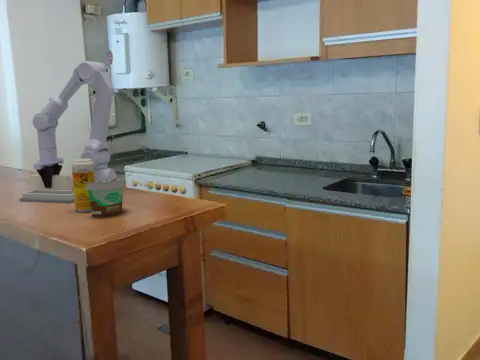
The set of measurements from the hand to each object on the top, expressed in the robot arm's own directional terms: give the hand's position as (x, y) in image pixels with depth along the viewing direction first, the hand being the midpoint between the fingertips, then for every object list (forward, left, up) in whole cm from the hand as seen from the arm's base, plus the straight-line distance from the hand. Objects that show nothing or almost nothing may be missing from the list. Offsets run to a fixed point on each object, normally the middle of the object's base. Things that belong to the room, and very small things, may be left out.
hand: (51, 186), depth 172 cm
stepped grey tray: (-7, +10, -2) cm, 12 cm away
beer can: (-26, +22, -2) cm, 34 cm away
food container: (-36, +25, -2) cm, 44 cm away
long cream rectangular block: (0, 0, -2) cm, 2 cm away
